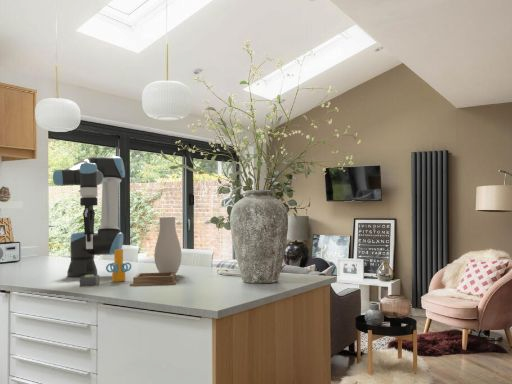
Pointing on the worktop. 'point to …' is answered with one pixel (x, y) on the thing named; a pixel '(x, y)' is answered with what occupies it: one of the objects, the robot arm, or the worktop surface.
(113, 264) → the orange block with rings
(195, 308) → the worktop surface
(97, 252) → the robot arm
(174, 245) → the vase
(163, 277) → the brown wooden tray
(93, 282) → the switch box
